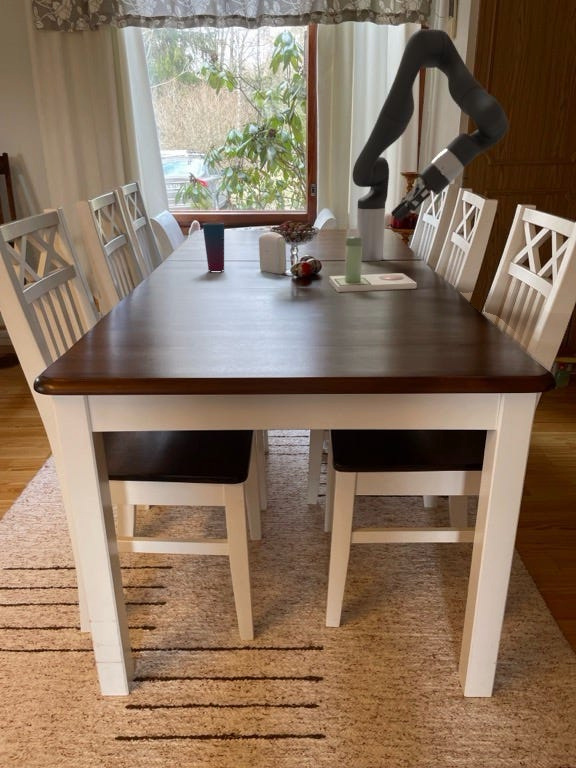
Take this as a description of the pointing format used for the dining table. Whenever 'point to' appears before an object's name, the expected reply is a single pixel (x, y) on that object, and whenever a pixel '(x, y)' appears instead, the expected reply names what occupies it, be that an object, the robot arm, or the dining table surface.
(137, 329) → the dining table surface
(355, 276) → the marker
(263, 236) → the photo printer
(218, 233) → the cup
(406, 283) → the picture board
